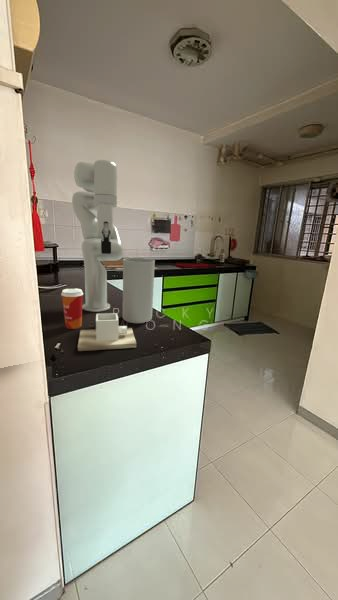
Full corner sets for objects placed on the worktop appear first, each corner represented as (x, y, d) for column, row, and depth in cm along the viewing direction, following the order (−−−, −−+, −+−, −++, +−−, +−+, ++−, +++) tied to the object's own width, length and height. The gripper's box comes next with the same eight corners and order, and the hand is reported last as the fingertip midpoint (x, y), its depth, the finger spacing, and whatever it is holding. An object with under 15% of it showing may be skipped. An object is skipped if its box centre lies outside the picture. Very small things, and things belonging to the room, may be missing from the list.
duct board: (80, 333, 90) (80, 330, 89) (131, 331, 95) (131, 327, 94) (77, 351, 78) (77, 346, 77) (136, 347, 83) (136, 343, 82)
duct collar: (96, 332, 88) (96, 313, 86) (125, 331, 91) (125, 312, 89) (96, 341, 82) (95, 321, 80) (127, 339, 84) (127, 319, 82)
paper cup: (62, 323, 98) (60, 288, 94) (83, 321, 101) (82, 287, 97) (63, 331, 91) (61, 293, 87) (85, 329, 94) (84, 292, 90)
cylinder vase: (126, 325, 100) (127, 262, 93) (119, 314, 111) (120, 257, 104) (155, 322, 105) (159, 262, 98) (147, 312, 116) (149, 258, 109)
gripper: (94, 202, 94) (95, 249, 98) (93, 198, 78) (94, 254, 82) (115, 204, 96) (115, 250, 100) (118, 200, 80) (118, 255, 84)
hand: (105, 252), depth 91 cm, fingers open, 9 cm apart
